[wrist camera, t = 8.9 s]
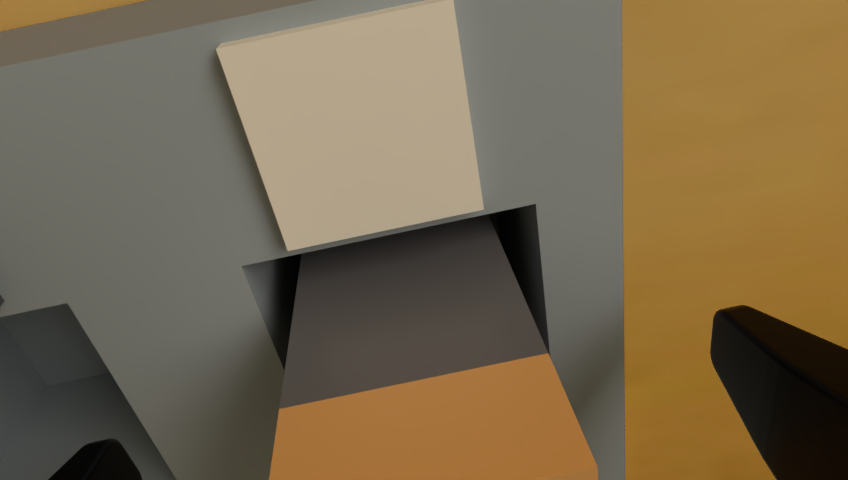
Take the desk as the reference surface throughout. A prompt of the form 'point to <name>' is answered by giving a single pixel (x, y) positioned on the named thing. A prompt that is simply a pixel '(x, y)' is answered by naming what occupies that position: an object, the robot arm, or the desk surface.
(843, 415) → the robot arm
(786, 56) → the desk surface
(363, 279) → the plug
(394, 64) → the port block
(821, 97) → the desk surface
